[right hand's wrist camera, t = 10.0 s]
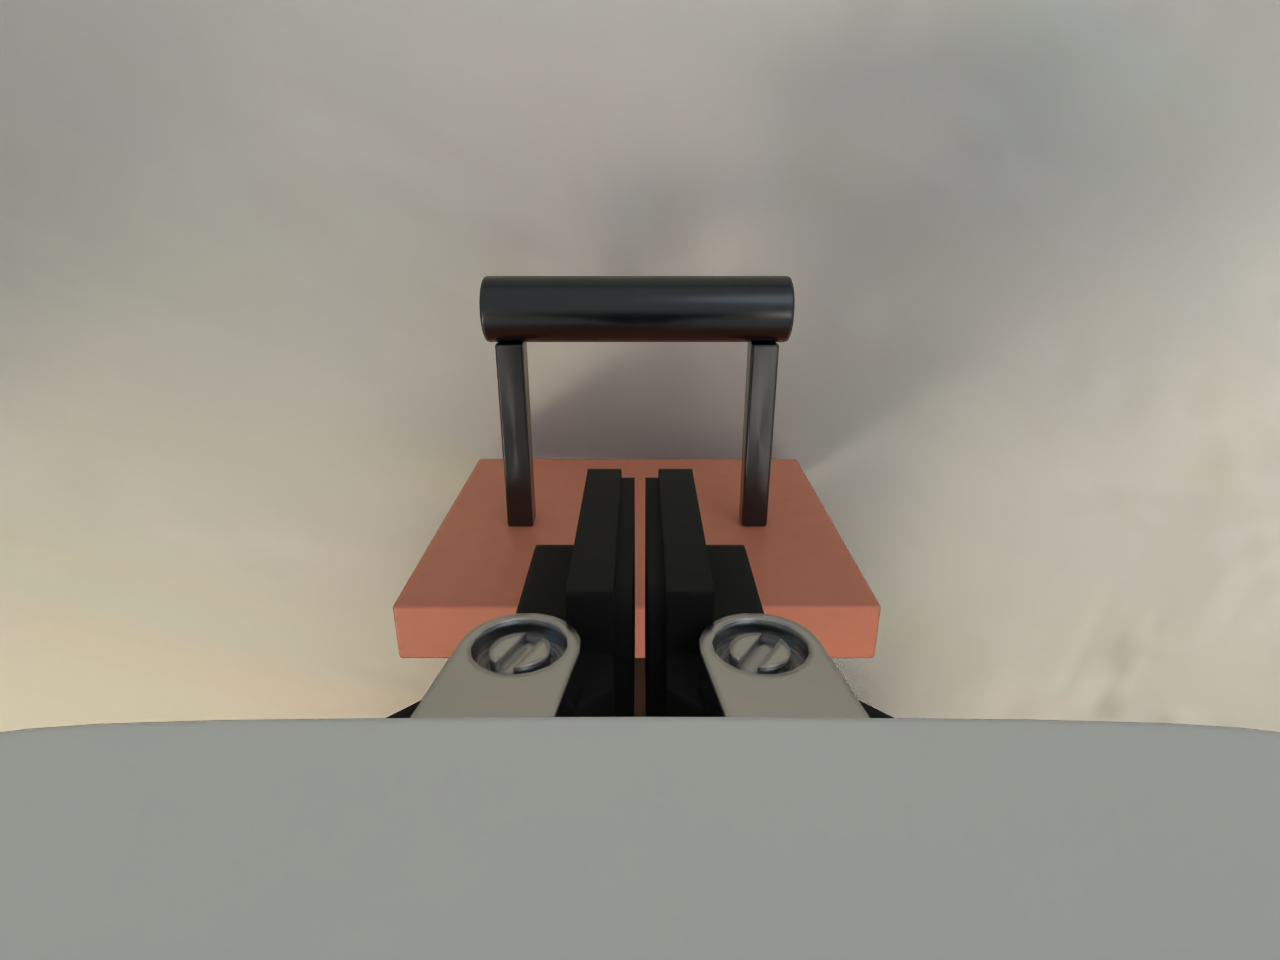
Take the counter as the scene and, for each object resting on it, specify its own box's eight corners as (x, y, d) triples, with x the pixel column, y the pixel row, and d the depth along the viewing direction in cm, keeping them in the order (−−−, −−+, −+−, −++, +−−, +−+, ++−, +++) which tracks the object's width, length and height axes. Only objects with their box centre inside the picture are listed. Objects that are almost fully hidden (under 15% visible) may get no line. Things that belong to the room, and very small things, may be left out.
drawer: (462, 257, 20) (349, 302, 12) (812, 257, 20) (923, 302, 12) (516, 911, 29) (470, 1180, 21) (760, 911, 29) (804, 1180, 21)
